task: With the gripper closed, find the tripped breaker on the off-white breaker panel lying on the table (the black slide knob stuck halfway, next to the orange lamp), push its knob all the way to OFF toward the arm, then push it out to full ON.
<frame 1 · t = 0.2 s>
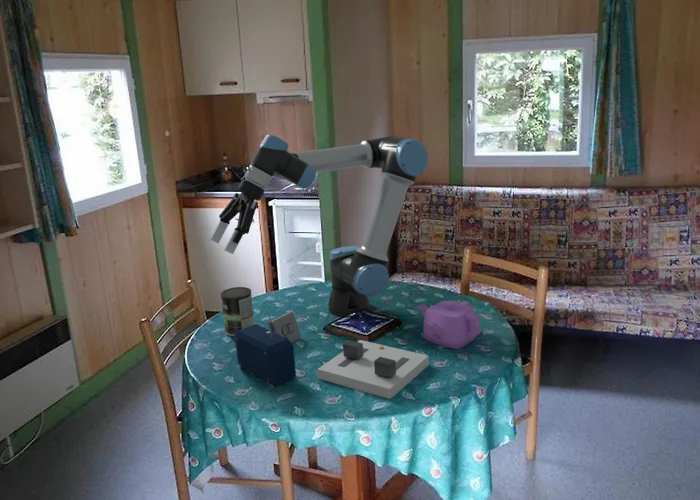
hand: (221, 246, 189), 36 cm above the table, tool tilted 35°, fingers open, 13 cm apart
coffee can: (240, 330, 218), on the table
breaker panel: (374, 371, 184), on the table
tripped breaker: (353, 349, 186), point 5 cm above the table, slide at 0.0 cm
teakettle: (448, 339, 202), on the table
electrical switch: (285, 342, 207), on the table
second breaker: (385, 367, 174), point 5 cm above the table, slide at 5.0 cm
radio: (267, 372, 187), on the table
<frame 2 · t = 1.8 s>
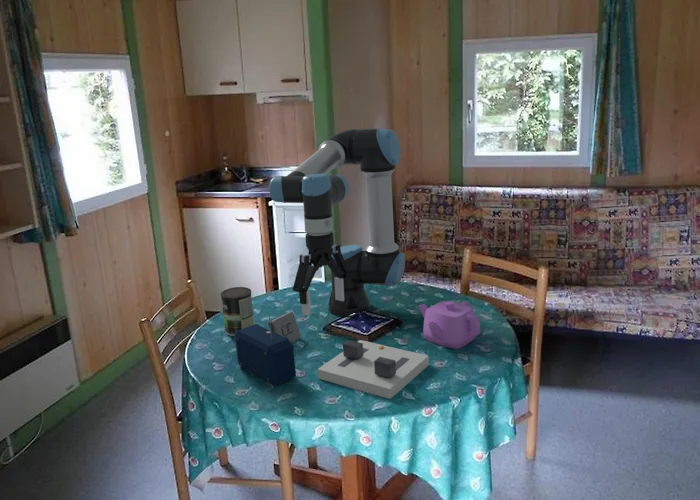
hand: (323, 307, 175), 22 cm above the table, tool pointing down, fingers open, 13 cm apart
nothing on the table moved.
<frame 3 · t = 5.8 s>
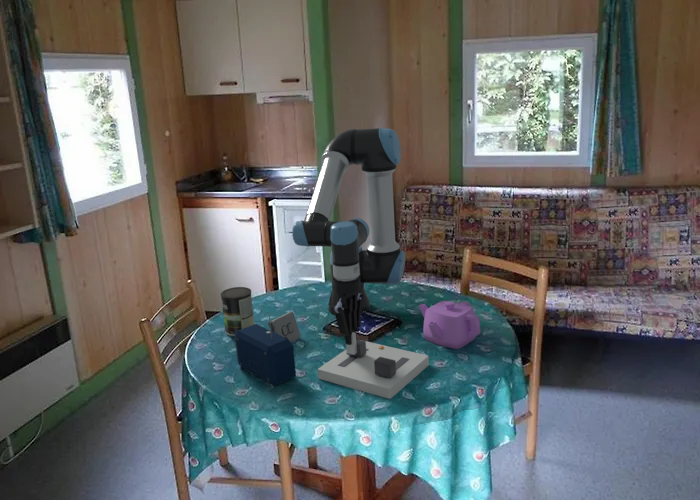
hand: (351, 352, 186), 5 cm above the table, tool pointing down, fingers closed
tripped breaker: (356, 347, 187), point 5 cm above the table, slide at -1.6 cm, touching gripper
everything else where it was.
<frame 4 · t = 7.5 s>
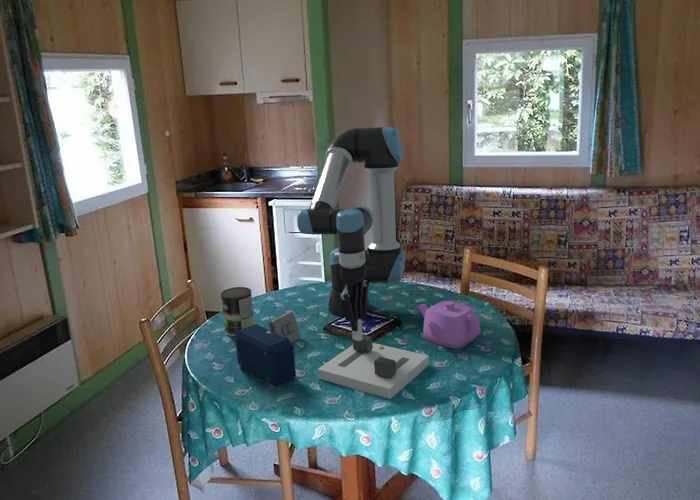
hand: (357, 339, 188), 8 cm above the table, tool pointing down, fingers closed
tripped breaker: (362, 343, 190), point 5 cm above the table, slide at -5.1 cm, touching gripper
everything else where it was.
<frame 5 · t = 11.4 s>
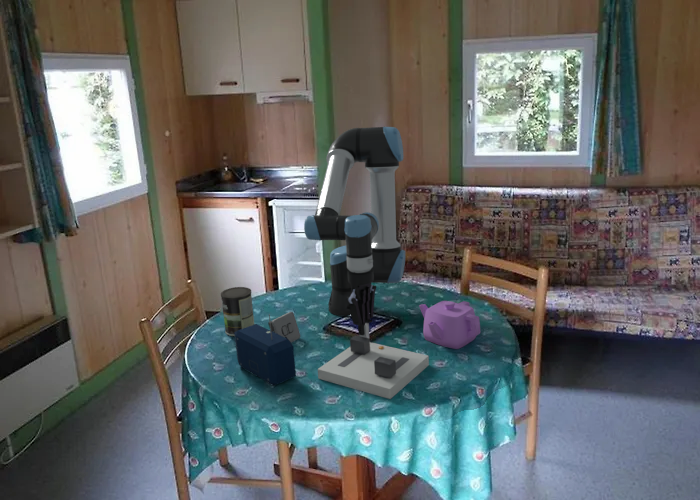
hand: (364, 343, 191), 5 cm above the table, tool pointing down, fingers closed
tripped breaker: (360, 344, 189), point 5 cm above the table, slide at -3.7 cm, touching gripper
everything else where it was.
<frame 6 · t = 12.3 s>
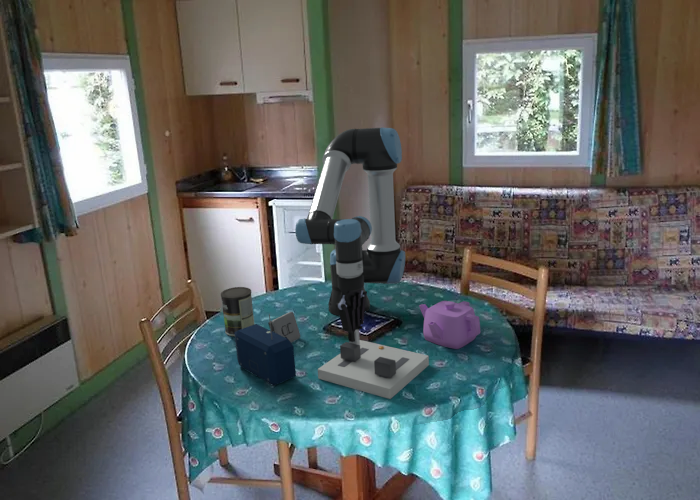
hand: (354, 349, 186), 5 cm above the table, tool pointing down, fingers closed
tripped breaker: (350, 351, 185), point 5 cm above the table, slide at 1.5 cm, touching gripper
everything else where it was.
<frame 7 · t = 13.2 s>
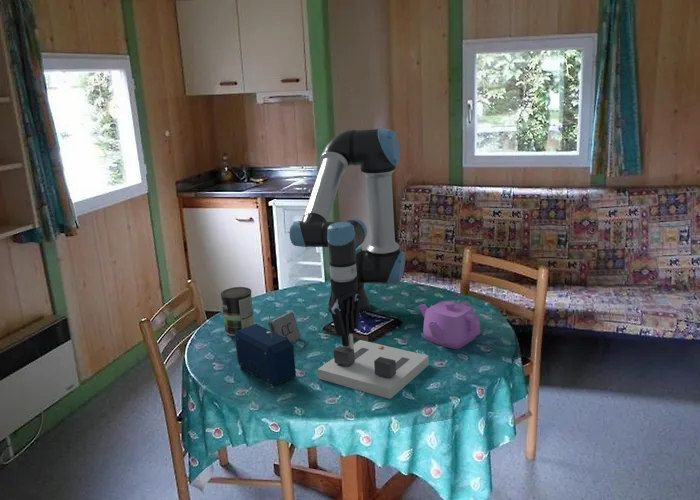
hand: (348, 354, 184), 5 cm above the table, tool pointing down, fingers closed
tripped breaker: (344, 356, 182), point 5 cm above the table, slide at 4.6 cm, touching gripper
everything else where it was.
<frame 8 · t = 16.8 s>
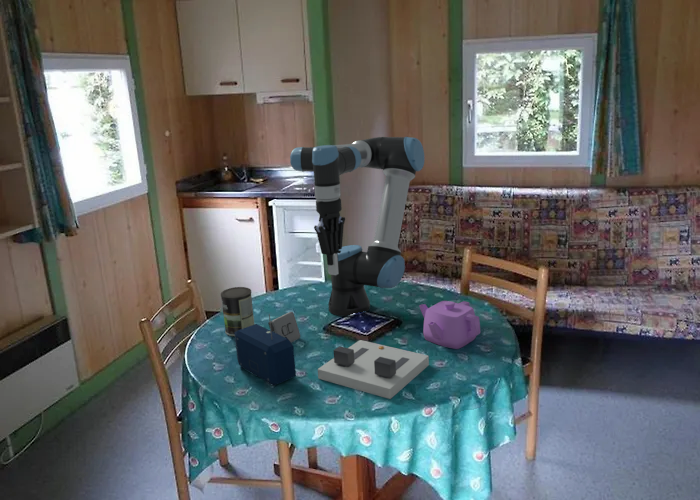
hand: (333, 273, 194), 24 cm above the table, tool pointing down, fingers closed
tripped breaker: (344, 356, 182), point 5 cm above the table, slide at 4.7 cm
everything else where it was.
at the end: tripped breaker slide at 4.7 cm; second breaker slide at 5.0 cm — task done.
